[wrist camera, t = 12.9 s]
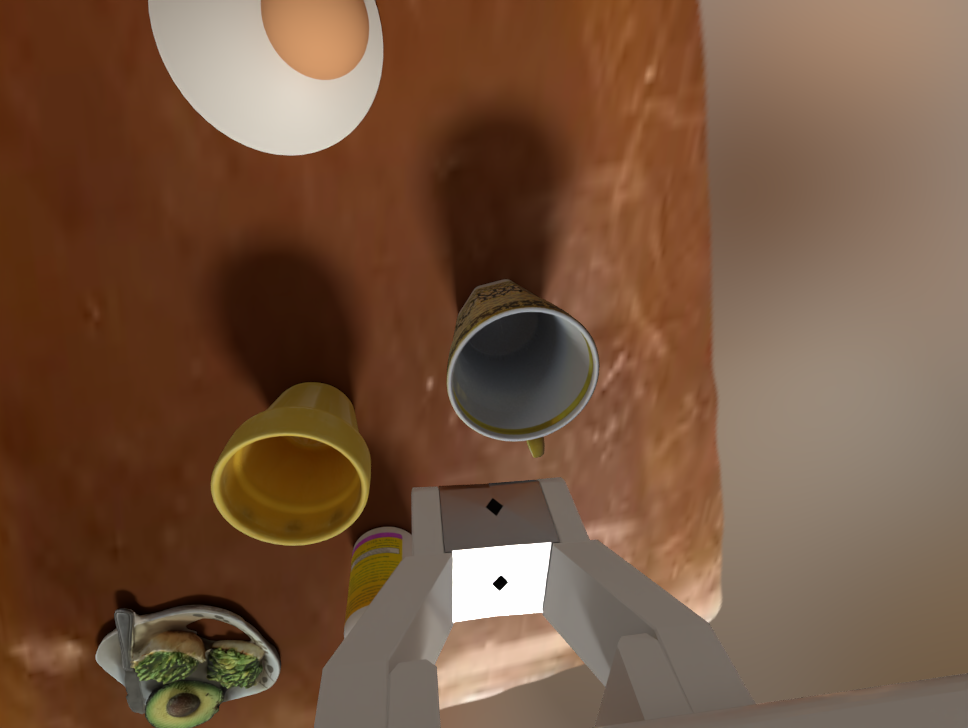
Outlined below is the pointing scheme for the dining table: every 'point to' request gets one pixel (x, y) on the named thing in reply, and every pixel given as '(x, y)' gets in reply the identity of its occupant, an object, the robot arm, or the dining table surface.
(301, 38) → the ball
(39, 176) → the dining table surface
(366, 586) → the supplement bottle
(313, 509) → the plant pot
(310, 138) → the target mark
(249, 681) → the avocado toast plate
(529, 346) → the ceramic cup
